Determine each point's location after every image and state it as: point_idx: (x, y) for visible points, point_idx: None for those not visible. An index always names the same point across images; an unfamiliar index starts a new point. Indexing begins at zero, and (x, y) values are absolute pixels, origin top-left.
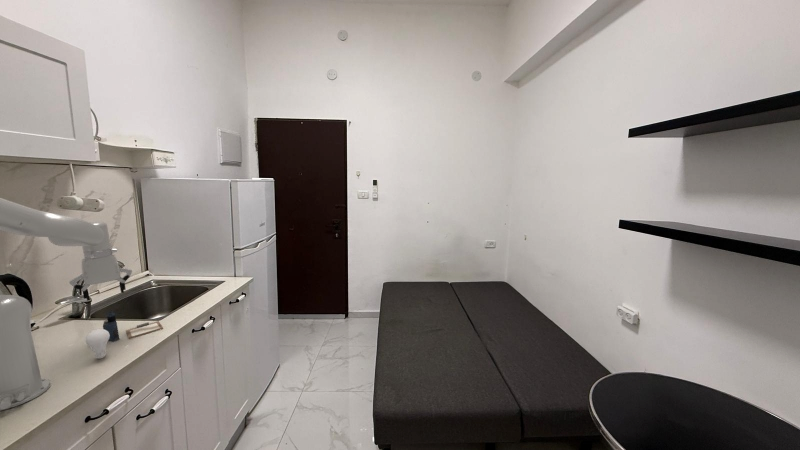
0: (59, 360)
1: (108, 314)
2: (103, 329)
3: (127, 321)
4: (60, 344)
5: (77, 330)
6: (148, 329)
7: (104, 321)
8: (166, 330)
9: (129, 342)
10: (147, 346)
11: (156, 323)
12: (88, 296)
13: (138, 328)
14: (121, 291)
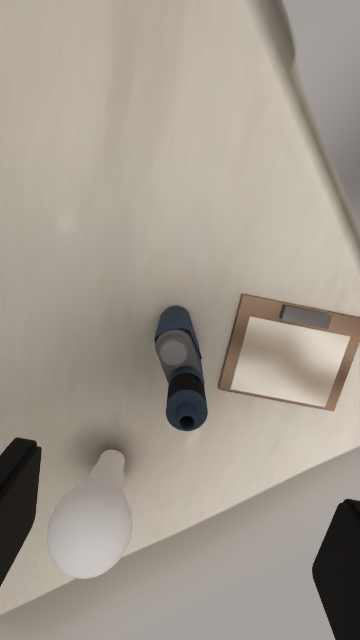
0: (20, 348)
1: (178, 399)
2: (106, 561)
3: (301, 148)
4: (35, 168)
5: (114, 17)
6: (295, 379)
7: (162, 351)
8: (328, 432)
9: (208, 415)
10: (228, 498)
11: (346, 343)
12: (1, 573)
13: (279, 329)
14: (319, 594)
